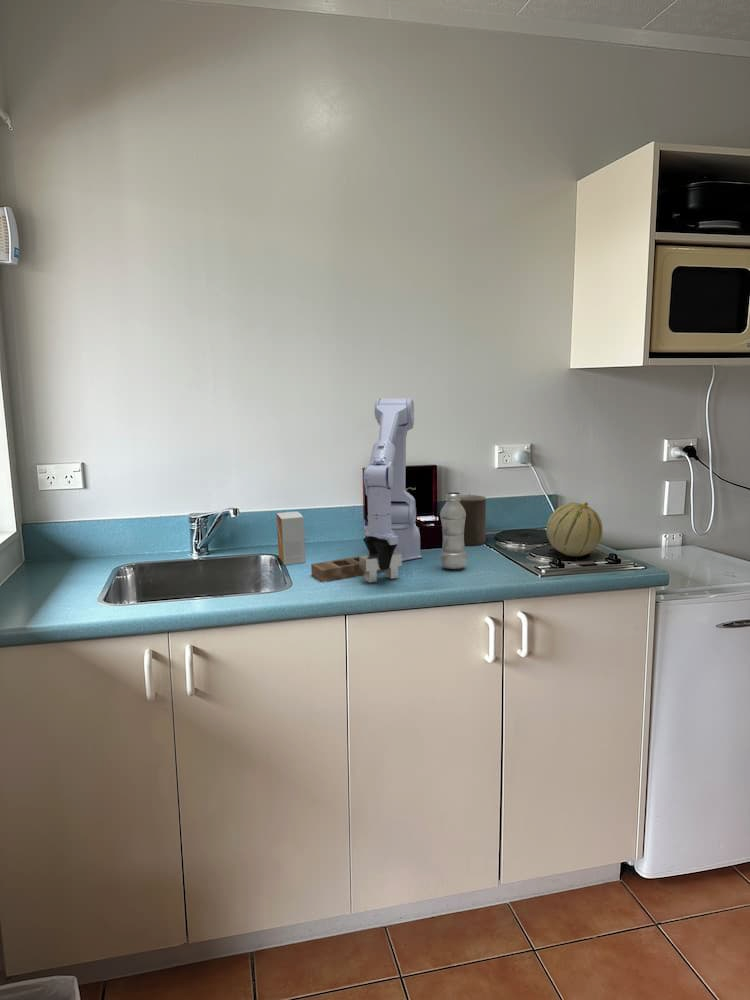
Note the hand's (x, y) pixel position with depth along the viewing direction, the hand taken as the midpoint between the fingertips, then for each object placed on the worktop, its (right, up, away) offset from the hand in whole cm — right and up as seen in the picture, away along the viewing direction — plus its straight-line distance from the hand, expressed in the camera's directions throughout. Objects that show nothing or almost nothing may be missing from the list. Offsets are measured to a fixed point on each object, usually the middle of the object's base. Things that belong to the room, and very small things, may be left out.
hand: (380, 567), depth 174 cm
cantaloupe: (+53, +1, +19) cm, 57 cm away
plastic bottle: (+19, -1, +9) cm, 21 cm away
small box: (-25, 0, +21) cm, 33 cm away
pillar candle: (+27, +4, +37) cm, 46 cm away
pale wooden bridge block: (0, -3, +1) cm, 3 cm away
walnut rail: (-7, -2, +8) cm, 11 cm away
